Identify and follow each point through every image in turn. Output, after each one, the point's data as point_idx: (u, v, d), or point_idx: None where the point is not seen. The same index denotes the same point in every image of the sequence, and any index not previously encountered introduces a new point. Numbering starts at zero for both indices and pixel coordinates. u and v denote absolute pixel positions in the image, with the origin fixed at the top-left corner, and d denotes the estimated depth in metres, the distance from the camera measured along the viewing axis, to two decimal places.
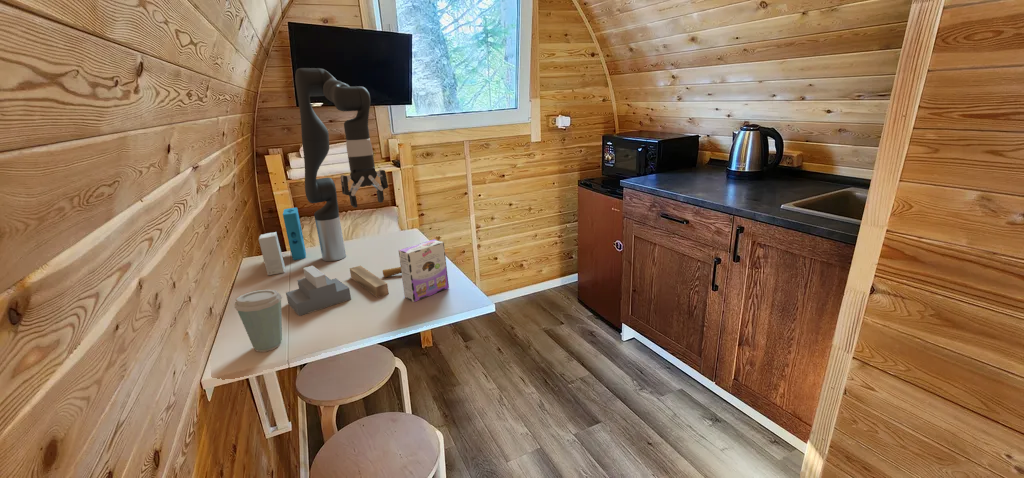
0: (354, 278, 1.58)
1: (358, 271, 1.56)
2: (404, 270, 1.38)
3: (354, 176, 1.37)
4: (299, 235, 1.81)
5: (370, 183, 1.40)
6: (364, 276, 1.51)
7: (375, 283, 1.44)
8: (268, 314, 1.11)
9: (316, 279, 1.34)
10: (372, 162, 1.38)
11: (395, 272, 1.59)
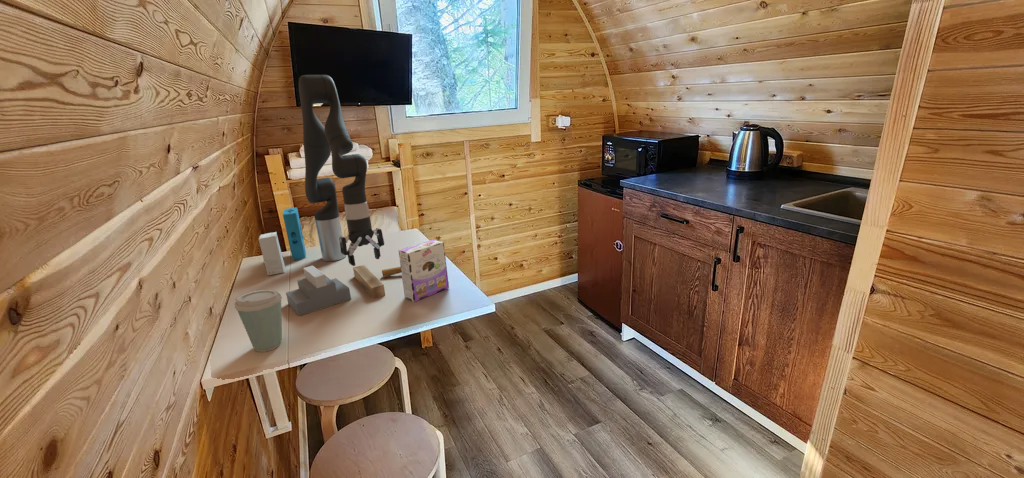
0: (356, 277, 1.59)
1: (359, 271, 1.56)
2: (404, 270, 1.38)
3: (352, 237, 1.45)
4: (299, 235, 1.81)
5: (367, 242, 1.49)
6: (363, 276, 1.51)
7: (372, 284, 1.44)
8: (268, 314, 1.11)
9: (316, 279, 1.34)
10: (369, 223, 1.46)
11: (394, 272, 1.59)
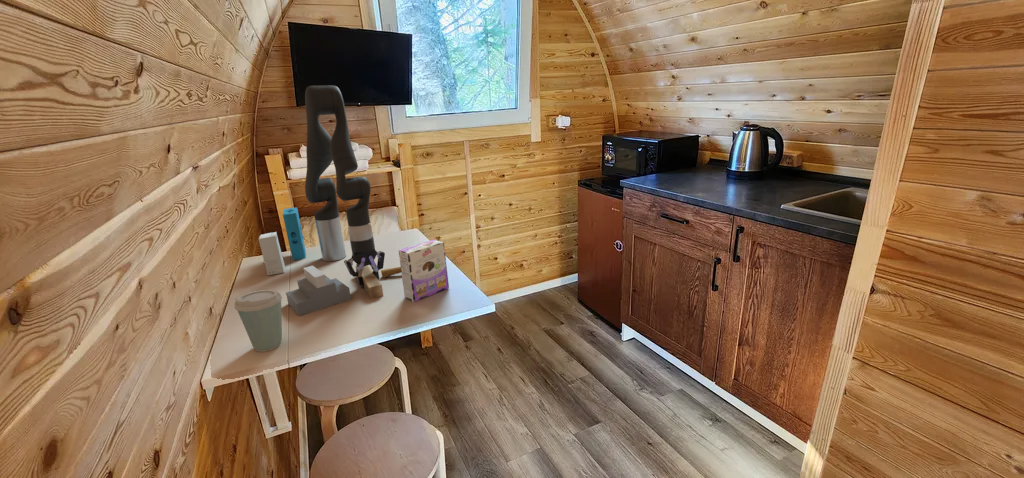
0: None
1: None
2: (404, 270, 1.38)
3: (356, 258, 1.47)
4: (299, 235, 1.81)
5: (370, 262, 1.51)
6: (364, 275, 1.51)
7: (370, 284, 1.44)
8: (268, 314, 1.11)
9: (316, 279, 1.34)
10: (372, 244, 1.48)
11: (394, 272, 1.59)
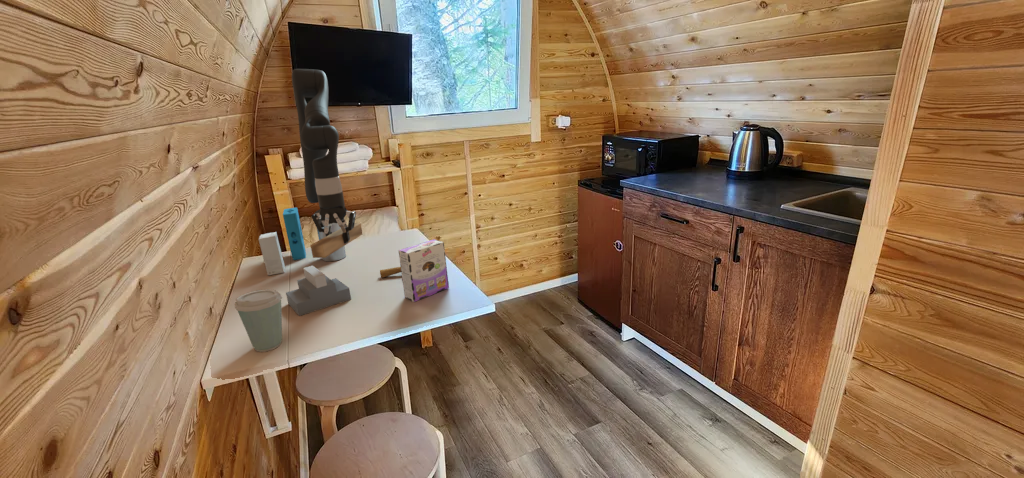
0: None
1: None
2: (404, 270, 1.38)
3: (321, 212, 1.39)
4: (299, 235, 1.81)
5: None
6: (333, 233, 1.42)
7: (318, 242, 1.33)
8: (268, 314, 1.11)
9: (316, 279, 1.34)
10: (334, 201, 1.36)
11: (392, 272, 1.59)
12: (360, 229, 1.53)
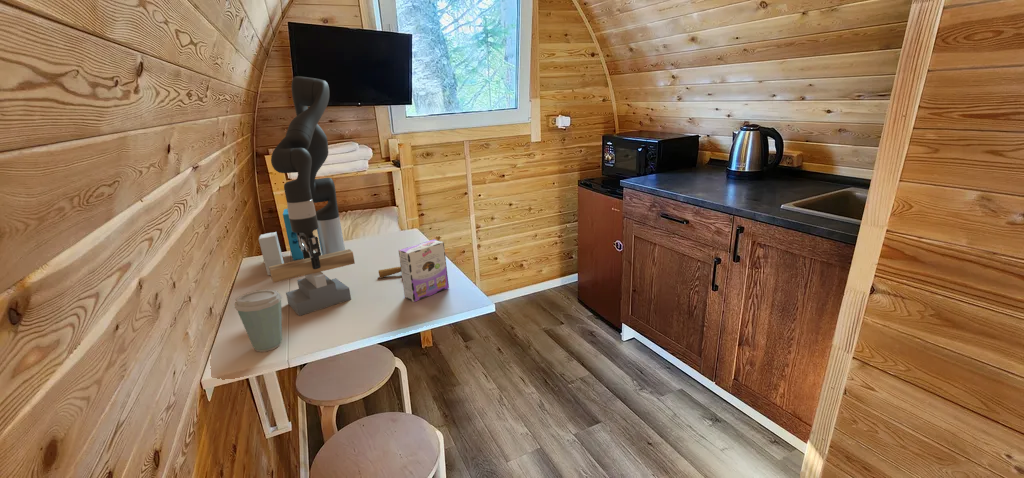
0: None
1: (331, 253, 1.42)
2: (404, 270, 1.38)
3: (299, 234, 1.37)
4: None
5: None
6: (310, 258, 1.39)
7: (278, 265, 1.34)
8: (268, 314, 1.11)
9: (316, 279, 1.34)
10: (296, 227, 1.31)
11: (391, 272, 1.59)
12: (351, 258, 1.43)
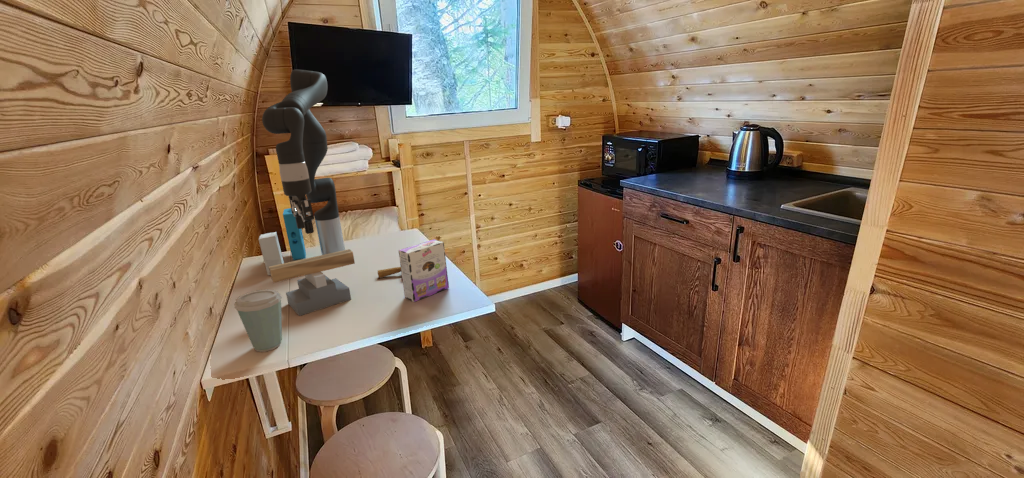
0: None
1: (331, 253, 1.42)
2: (404, 270, 1.38)
3: (292, 198, 1.34)
4: (299, 235, 1.81)
5: None
6: (310, 258, 1.39)
7: (278, 265, 1.34)
8: (268, 314, 1.11)
9: (316, 279, 1.34)
10: (288, 189, 1.28)
11: (390, 273, 1.59)
12: (351, 258, 1.43)
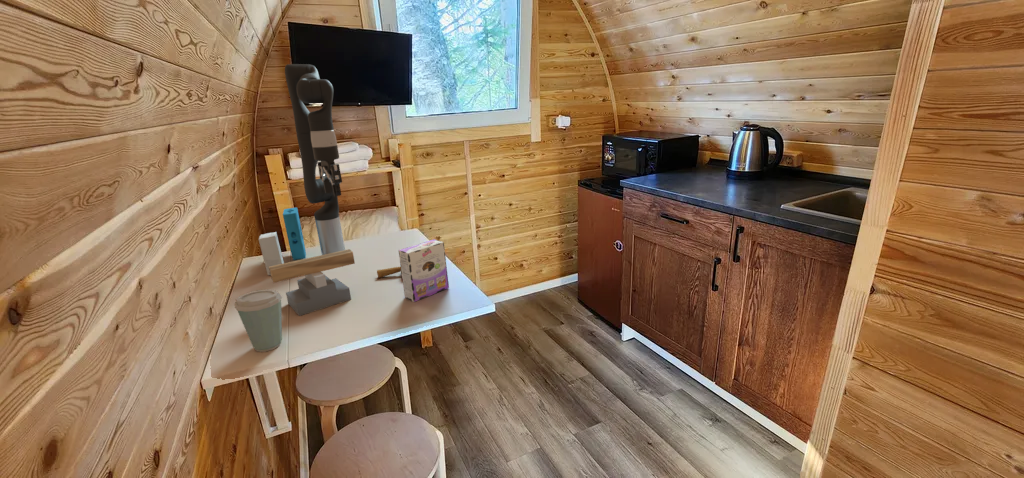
0: None
1: (331, 253, 1.42)
2: (404, 270, 1.38)
3: (321, 164, 1.46)
4: (299, 235, 1.81)
5: None
6: (310, 258, 1.39)
7: (278, 265, 1.34)
8: (268, 314, 1.11)
9: (316, 279, 1.34)
10: (319, 154, 1.40)
11: (389, 272, 1.59)
12: (351, 258, 1.43)
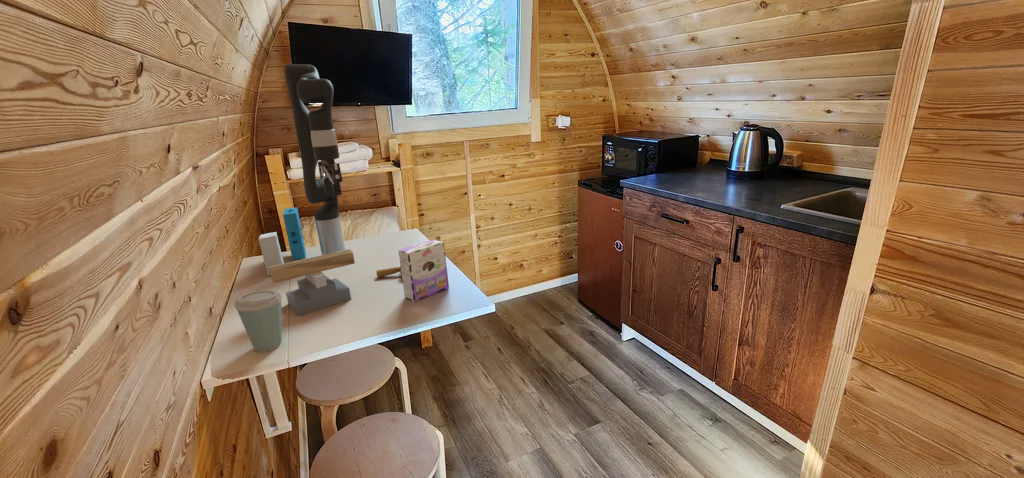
0: None
1: (331, 253, 1.42)
2: (404, 270, 1.38)
3: (321, 164, 1.46)
4: (299, 235, 1.81)
5: None
6: (310, 258, 1.39)
7: (278, 265, 1.34)
8: (268, 314, 1.11)
9: (316, 279, 1.34)
10: (319, 154, 1.40)
11: (389, 273, 1.59)
12: (351, 258, 1.43)
